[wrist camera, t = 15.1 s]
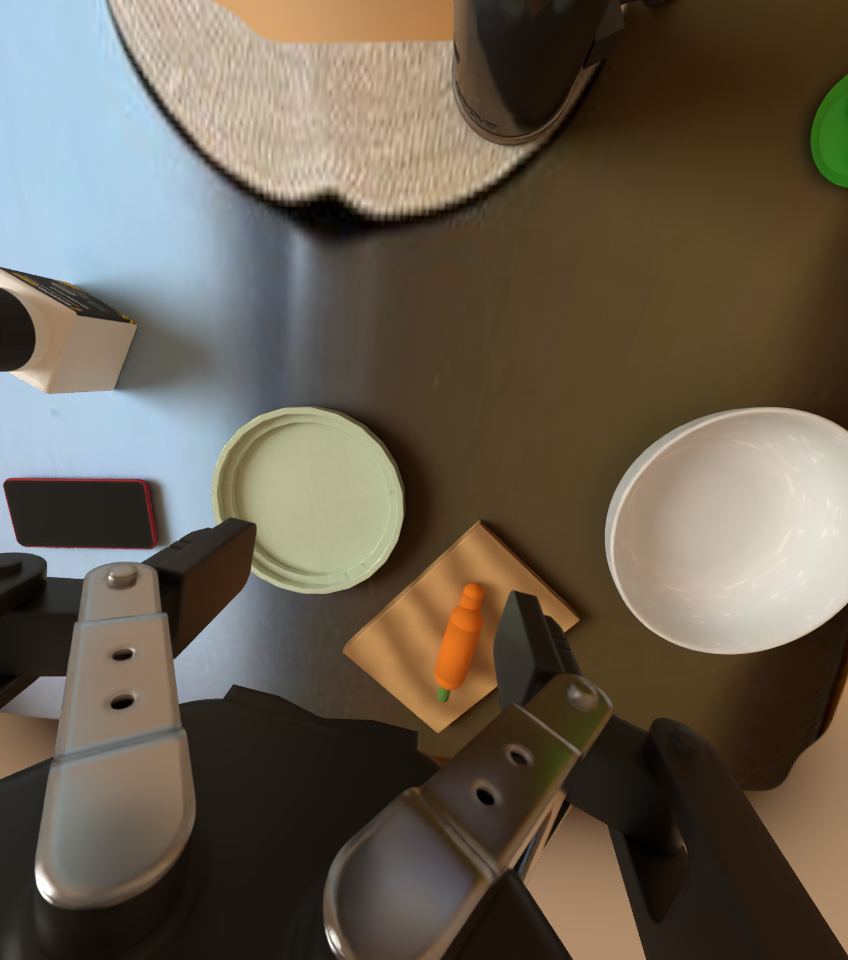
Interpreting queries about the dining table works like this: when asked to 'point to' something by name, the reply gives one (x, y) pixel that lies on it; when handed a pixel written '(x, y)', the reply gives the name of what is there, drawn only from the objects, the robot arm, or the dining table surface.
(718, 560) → the serving bowl
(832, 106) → the green dish with food
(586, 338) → the dining table surface
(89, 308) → the medicine bottle
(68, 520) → the smartphone
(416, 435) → the dining table surface
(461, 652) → the carrot
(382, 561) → the plate
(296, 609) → the dining table surface
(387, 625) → the cutting board
